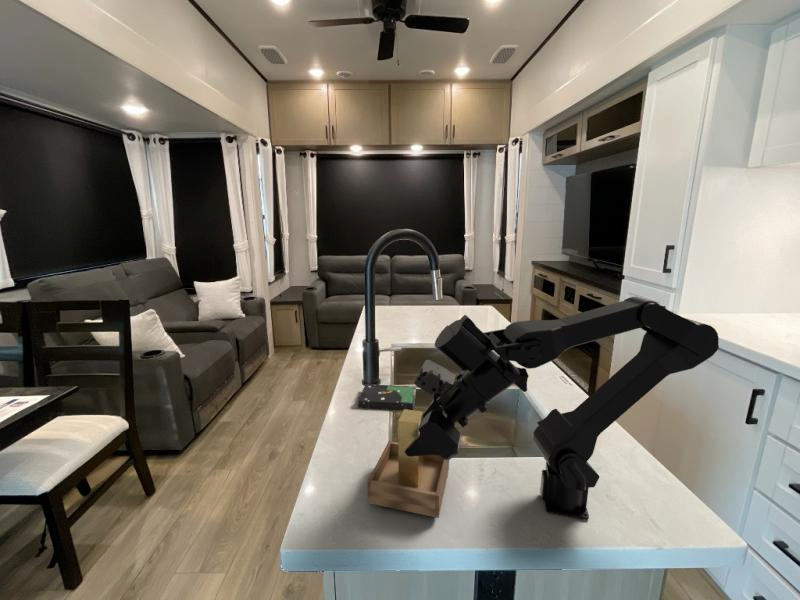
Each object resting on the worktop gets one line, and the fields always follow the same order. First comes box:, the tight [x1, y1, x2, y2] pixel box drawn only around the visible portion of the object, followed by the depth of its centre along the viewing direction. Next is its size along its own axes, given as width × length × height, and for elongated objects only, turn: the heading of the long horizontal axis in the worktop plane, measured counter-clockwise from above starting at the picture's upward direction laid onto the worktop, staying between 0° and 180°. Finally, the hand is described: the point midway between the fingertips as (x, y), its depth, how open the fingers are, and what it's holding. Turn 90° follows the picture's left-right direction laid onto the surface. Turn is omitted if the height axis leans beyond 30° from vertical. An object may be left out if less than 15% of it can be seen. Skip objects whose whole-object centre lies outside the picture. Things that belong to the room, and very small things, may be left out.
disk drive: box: [357, 384, 417, 411], centre depth 98 cm, size 10×3×15 cm
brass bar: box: [397, 409, 425, 487], centre depth 62 cm, size 4×4×12 cm
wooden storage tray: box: [366, 440, 450, 519], centre depth 64 cm, size 12×12×5 cm
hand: (413, 438), depth 62 cm, fingers open, 9 cm apart
